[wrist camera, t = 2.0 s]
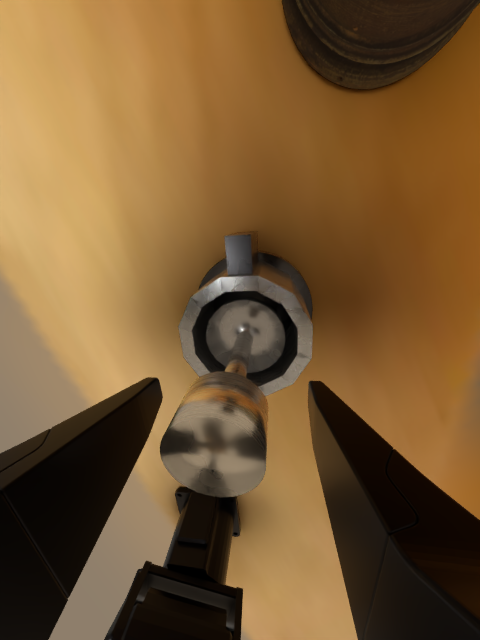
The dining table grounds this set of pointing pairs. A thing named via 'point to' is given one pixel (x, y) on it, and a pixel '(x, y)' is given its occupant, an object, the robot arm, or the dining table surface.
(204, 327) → the octagonal collar cylinder
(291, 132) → the dining table surface
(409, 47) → the container
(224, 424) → the plunger
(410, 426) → the dining table surface
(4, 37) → the dining table surface
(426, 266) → the dining table surface
